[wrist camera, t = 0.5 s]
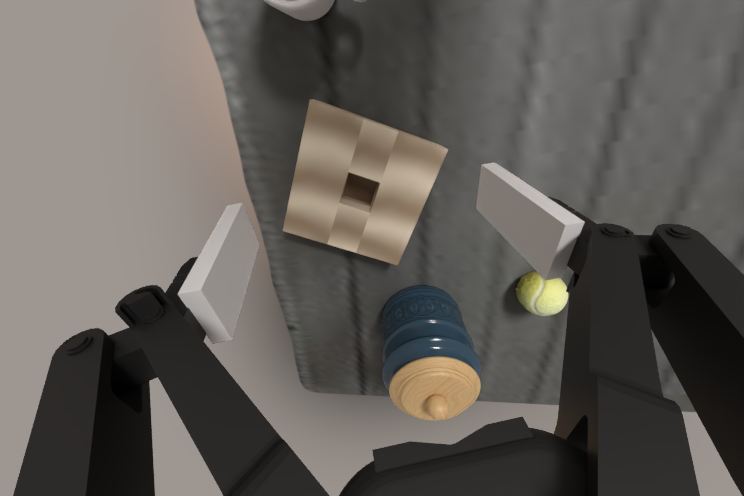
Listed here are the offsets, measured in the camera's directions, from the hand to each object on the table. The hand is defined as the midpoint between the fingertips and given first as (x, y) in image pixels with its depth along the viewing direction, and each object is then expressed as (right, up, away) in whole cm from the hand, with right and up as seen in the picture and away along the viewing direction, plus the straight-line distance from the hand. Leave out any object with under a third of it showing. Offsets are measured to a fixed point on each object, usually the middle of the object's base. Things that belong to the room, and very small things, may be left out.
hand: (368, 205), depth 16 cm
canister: (+8, -14, +32) cm, 36 cm away
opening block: (-1, +6, +22) cm, 23 cm away
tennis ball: (+25, -8, +29) cm, 39 cm away
